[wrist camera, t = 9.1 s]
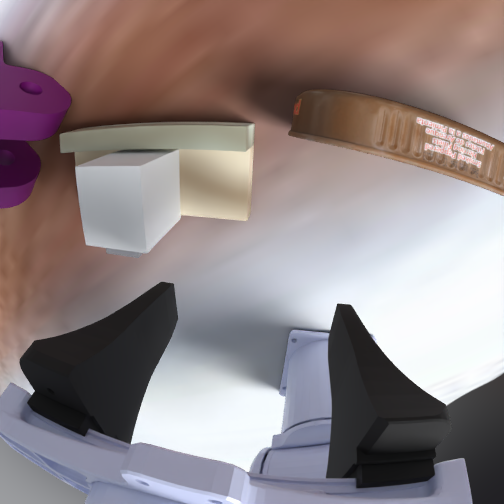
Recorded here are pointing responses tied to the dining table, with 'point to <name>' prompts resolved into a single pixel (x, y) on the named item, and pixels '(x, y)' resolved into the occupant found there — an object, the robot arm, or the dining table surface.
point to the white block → (129, 199)
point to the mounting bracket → (25, 126)
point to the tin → (399, 135)
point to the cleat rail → (185, 159)
